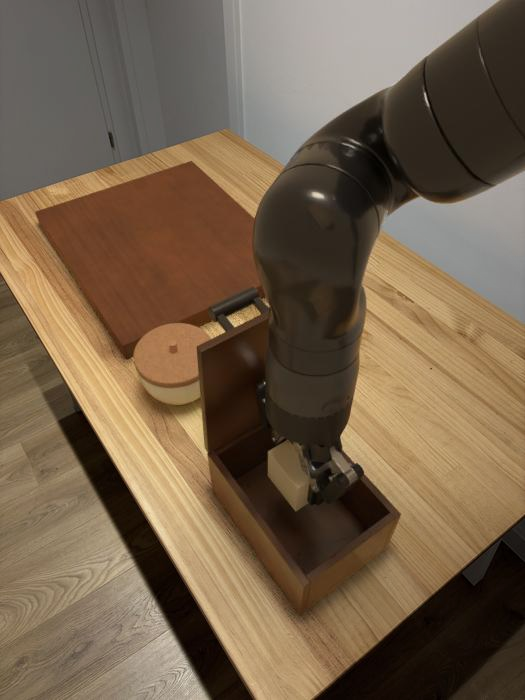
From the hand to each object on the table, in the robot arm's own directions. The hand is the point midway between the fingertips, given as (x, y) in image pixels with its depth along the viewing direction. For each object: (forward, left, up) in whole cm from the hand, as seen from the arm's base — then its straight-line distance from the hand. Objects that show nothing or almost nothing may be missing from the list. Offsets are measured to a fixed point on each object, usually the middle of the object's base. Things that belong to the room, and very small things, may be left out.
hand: (300, 477), depth 58 cm
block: (0, 0, -1) cm, 1 cm away
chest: (0, 0, -10) cm, 10 cm away
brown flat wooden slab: (+17, -52, -10) cm, 56 cm away
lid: (+4, -6, +9) cm, 12 cm away
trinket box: (+14, -21, -10) cm, 27 cm away
